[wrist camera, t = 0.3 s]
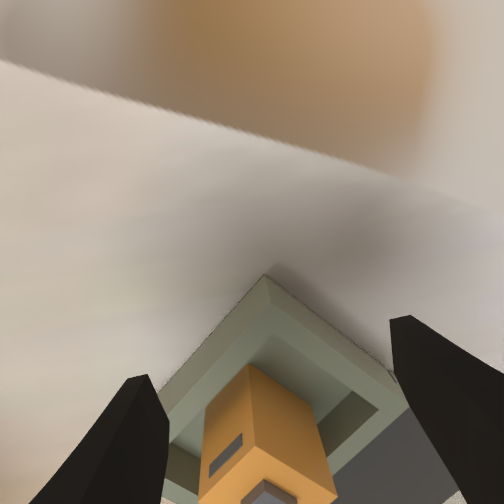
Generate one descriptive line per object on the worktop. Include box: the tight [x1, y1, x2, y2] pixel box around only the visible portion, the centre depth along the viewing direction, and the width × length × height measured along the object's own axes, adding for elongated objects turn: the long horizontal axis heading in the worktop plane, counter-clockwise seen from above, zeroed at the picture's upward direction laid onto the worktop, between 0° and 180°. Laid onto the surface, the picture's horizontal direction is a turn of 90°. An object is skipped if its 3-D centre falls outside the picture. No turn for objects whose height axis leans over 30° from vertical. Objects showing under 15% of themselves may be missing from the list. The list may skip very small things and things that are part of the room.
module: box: [198, 363, 338, 504], centre depth 20 cm, size 4×5×7 cm
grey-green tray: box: [157, 275, 459, 504], centre depth 23 cm, size 13×20×4 cm, turn 50°
